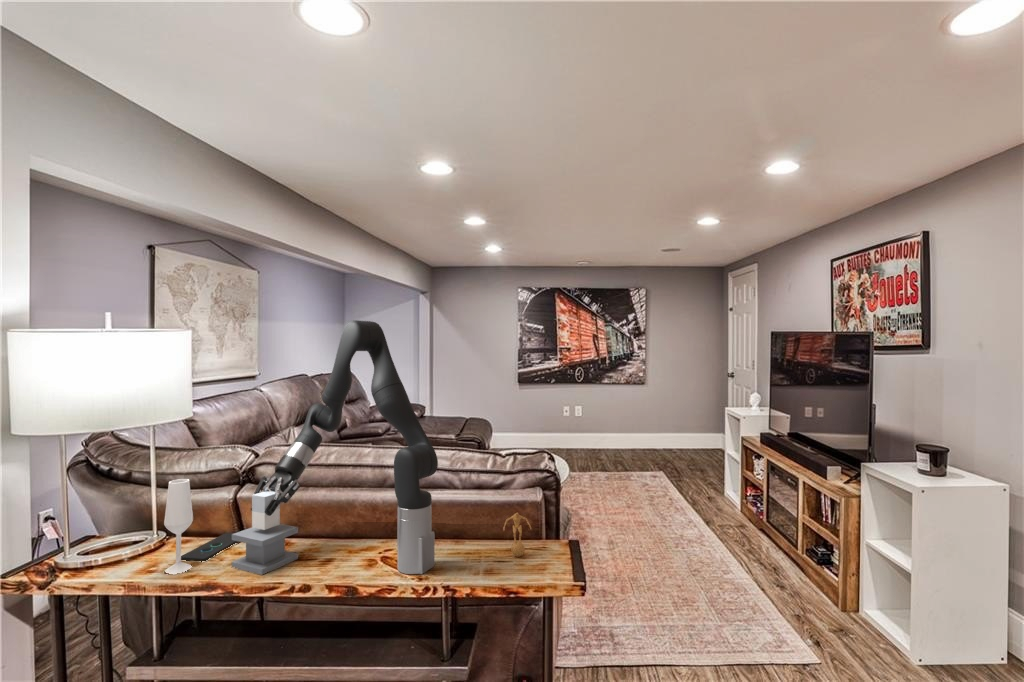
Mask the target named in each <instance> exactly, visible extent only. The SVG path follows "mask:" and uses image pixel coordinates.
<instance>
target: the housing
mask: <svg viewBox="0 0 1024 682" xmlns="http://www.w3.org/2000/svg"><path fill="white" fill-rule="evenodd" d="M260 492H261V491H260ZM274 496H275V492H273V491H271V490H269V491H266V492H261V493H257V494H254V493H253V494H252V495H251V506H252V511H251V527H253V528H258V529H263V530H266V529H268V528H271V527H274V526H276V525H279V524H281V523H280V522H281V521H280V519H281V515H280V513H281V511H280V509H281V507H280V505H281V504H279V505H278V507H277V508H276V510H275V511H274V513H273V514H272V515H271V516H268V515H267V514H266V513H265V510H266V508H267V507H268V505H269V504H270V502H271V501H272V500H274V499H273V498H274ZM279 496H280V495H279Z"/></svg>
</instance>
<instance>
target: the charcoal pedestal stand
mask: <svg viewBox="0 0 1024 682" xmlns="http://www.w3.org/2000/svg"><path fill="white" fill-rule="evenodd" d="M233 533H234V534H232V540H234V541H239V542H240V543H243V544H245V555H244V556H243V557H240V558H238V559H236V560H235V559H234V560H233V561H231V568H232V567H235V568H234V569H236V568H238V569H237V570H240V569H241V571H244V570H245V571H244V572H248V571H249V573H252V574H255V573H256V575H259V574H260V576H263V574H264V575H266V574H268V573H270V572H272V571H275V570H277V569H279V568H281V567H284V566H285V565H287V564H290V563H292V562H294V561H297V560H298V559H299V553H297V552H294V551H289V550H285V549H286V545H285V543H286V542H285V541H286V538H288V537H290V536H293V535H295V534H298V533H299V526H294V525H289V524H284V523H280V524H279V525H276V526H274V527H271V528H268V529H266V530H263V529H258V528H253V527H252V526H251V527H249V528H246V529H243V530H241V531H237V532H233ZM280 566H281V567H280ZM278 567H279V568H278ZM276 568H277V569H276ZM274 569H275V570H274ZM269 571H270V572H269ZM267 572H268V573H267ZM265 573H266V574H265Z"/></svg>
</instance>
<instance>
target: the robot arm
mask: <svg viewBox="0 0 1024 682" xmlns="http://www.w3.org/2000/svg"><path fill="white" fill-rule="evenodd" d="M387 342H388V341H387V338H386V336H385V333H384V330H383V328H382V327H381V325H380V324H379V323H377V322H375V321H371V320H358V319H357V320H354V319H353V320H351V321H348V322H347V323H346V325H345V326H344V327H343V329H342V333H341V336H340V338H339V343H338V346H337V351H336V354H335V355H336V356H335V359H334V363H333V368H332V370H331V371H332V372H331V373H330V375H329V378H328V381H327V383H326V385H325V387H324V390H323V391H322V394H321V401H322V402H323V403H324V404H323V403H320V402H318V403H317V402H315V403H314V404H312V405H311V406H310V407H309V409H308V412H307V414H306V418H305V421H304V423H303V426H302V428H301V430H300V432H299V434H298V435H297V436H296V438H295V439H294V441H293V442H292V444H291V445H289V446H288V448H287V450H286V451H285V453H283V455H282V457H281V458H280V459H279V461H278V462H277V464H276V465H275V467H274V473H273V474H272V475H271V476H270V477H266V476H262V477H261V479H260V480H259V483H258V484H257V486H256V489H255V491H254V493H253V495H254V494H257V493H261V492H266V491H273V492H275V496H274V498H273V499H274V500H272V501H271V502H270V504H269V505H268V507H267V508H266V510H265V513H266V514H267V515H268V516H271V515H272V514H273V513H274V511H275V510H276V508H277V507H278V505H279V504H280V505H281V504H282V503H284V504H287V503H288V502H289V500H291V498H292V497H293V496H294V495H295V493H297V492H298V491H299V489H300V487H301V485H300V484H299V483H298V480H299V479H300V478H301V476H302V474H303V473H304V471H305V470H306V468H307V467H308V465H309V463H311V460H312V458H313V456H314V455H315V453H316V452H317V449H318V448H319V447H320V446H321V443H322V441H323V436H322V435H321V434H320V433H319V432H318V431H317V430H316V429H315V428H314V427H313V426H315V427H316V428H319V429H321V430H323V431H324V432H326V433H333V432H335V431H336V430H337V429H338V428H339V427H340V425H341V422H342V419H343V417H342V416H343V409H344V403H345V401H346V399H347V396H348V395H349V393H350V391H351V387H352V385H353V377H352V371H351V363H352V362H351V361H352V359H353V358H354V356H355V354H356V352H367V353H368V355H369V357H370V359H371V361H372V365H373V374H372V375H373V376H372V378H371V385H370V391H371V395H372V398H373V400H374V403H375V406H376V408H377V410H378V412H379V414H380V415H381V417H383V418H384V420H386V421H387V422H388V423H389V424H390V425H391V426H392V427H393V428H395V429H396V431H398V432H399V434H401V436H402V437H403V439H404V441H405V443H406V445H407V447H406V446H405V447H403V448H400V449H399V450H398V451H397V452H396V454H395V456H394V460H393V479H394V480H393V481H394V494H395V498H396V501H397V525H396V526H397V537H396V539H397V540H396V541H397V546H396V547H397V550H396V551H397V555H396V556H397V557H396V559H397V566H396V567H397V571H398V572H399V573H402V574H406V575H424V574H425V573H427V572H428V571H429V570H431V569H432V568H433V567H435V564H436V563H435V560H436V559H435V557H436V556H435V551H436V550H435V548H436V547H435V544H436V543H435V540H436V539H435V531H434V530H432V502H433V501H432V495H431V493H430V492H429V491H428V490H423V489H421V487H420V486H421V485H420V480H422V479H424V478H429V477H431V476H433V475H434V474H436V472H437V470H438V467H439V463H438V462H439V461H438V456H437V453H436V451H435V448H434V447H433V444H432V443H431V441H430V439H429V437H428V435H427V434H426V432H425V430H424V428H423V427H422V424H421V422H420V420H419V419H418V417H417V415H416V413H415V410H414V408H413V406H412V403H411V401H410V397H409V396H408V393H407V391H406V388H405V386H404V384H403V382H402V379H401V377H400V376H399V373H398V371H397V368H396V365H395V363H394V361H393V358H392V355H391V352H390V349H389V345H388V343H387ZM279 495H280V496H279ZM250 511H251V512H252V505H251V506H250Z"/></svg>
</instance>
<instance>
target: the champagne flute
mask: <svg viewBox="0 0 1024 682" xmlns="http://www.w3.org/2000/svg"><path fill="white" fill-rule="evenodd" d="M167 487H168V488H167V495H166V502H165V504H166V505H165V511H164V512H165V513H164V521H163V525H164V527H165V528H166V529H167V530H168V531H169V532H171V533H172V534H175V563H172V565H171V566H169V567H168V568H166V569H165V570H164V571H165V572H166V573H169V574H173V575H178V574H177V573H180V574H183V573H186V572H188V571H187V570H188V569H190V568H191V567H192V566H193V565H192V566H191V564H189V563H186V562H184V561H181V556H182V534H183V533H184V532H185V531H186V530H187V529H188V528H189V527H190V526H191V525H192V523H193V521H194V514H193V513H194V512H193V503H192V495H191V483H190V479H189V478H179V479H173V480H170V481H169V482H168V486H167ZM192 568H193V567H192ZM190 570H191V569H190ZM185 571H186V572H185ZM182 572H183V573H182Z"/></svg>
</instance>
